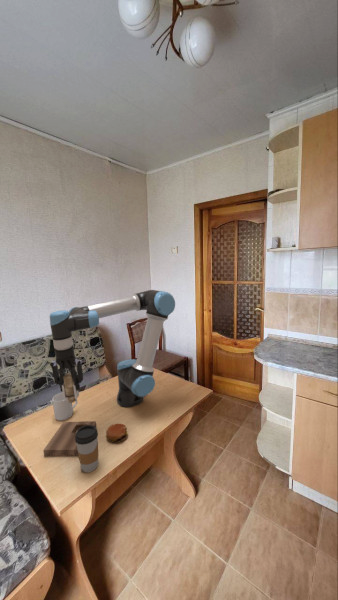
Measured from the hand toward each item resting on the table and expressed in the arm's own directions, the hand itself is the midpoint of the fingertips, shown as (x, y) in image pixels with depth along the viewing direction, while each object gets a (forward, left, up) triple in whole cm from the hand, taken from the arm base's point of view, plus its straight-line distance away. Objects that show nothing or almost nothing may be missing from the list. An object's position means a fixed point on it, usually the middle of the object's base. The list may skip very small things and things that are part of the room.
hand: (71, 397), depth 109 cm
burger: (-19, 0, -20) cm, 28 cm away
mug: (+12, -17, -20) cm, 29 cm away
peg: (0, 0, -2) cm, 2 cm away
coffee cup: (-12, +16, -20) cm, 28 cm away
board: (+1, +2, -20) cm, 20 cm away
